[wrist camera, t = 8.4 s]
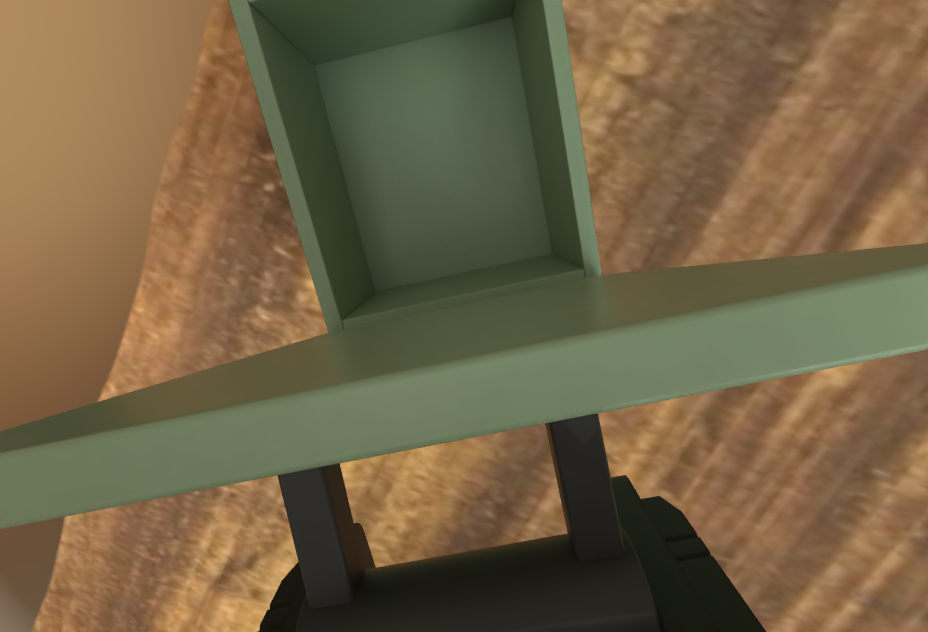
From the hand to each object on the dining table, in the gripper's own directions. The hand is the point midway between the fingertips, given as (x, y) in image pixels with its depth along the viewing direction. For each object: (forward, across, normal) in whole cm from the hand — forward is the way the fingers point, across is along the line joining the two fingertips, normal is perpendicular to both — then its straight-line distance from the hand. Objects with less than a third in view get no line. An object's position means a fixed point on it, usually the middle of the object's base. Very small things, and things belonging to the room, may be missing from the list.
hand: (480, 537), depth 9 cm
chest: (+21, 0, -10) cm, 23 cm away
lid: (+4, 0, -4) cm, 6 cm away
